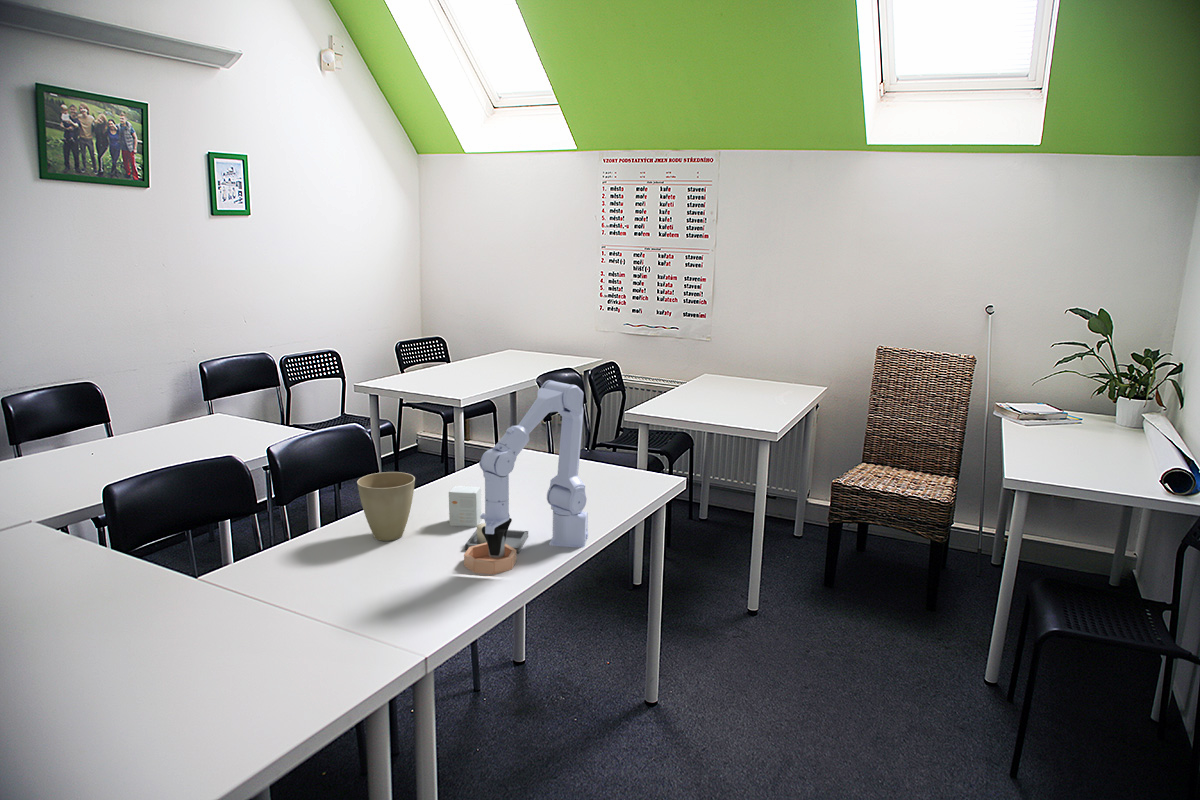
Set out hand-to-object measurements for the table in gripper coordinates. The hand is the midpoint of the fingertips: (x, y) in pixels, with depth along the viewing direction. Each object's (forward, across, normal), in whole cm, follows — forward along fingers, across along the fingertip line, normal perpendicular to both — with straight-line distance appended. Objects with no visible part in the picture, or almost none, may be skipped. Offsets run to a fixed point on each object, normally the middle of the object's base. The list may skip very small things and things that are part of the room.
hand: (497, 551), depth 191 cm
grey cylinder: (+1, 0, 0) cm, 1 cm away
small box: (+5, -27, -16) cm, 32 cm away
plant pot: (+5, -15, -34) cm, 38 cm away
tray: (+4, -14, -4) cm, 15 cm away
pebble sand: (+4, -14, -7) cm, 16 cm away
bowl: (+4, -1, -2) cm, 5 cm away
